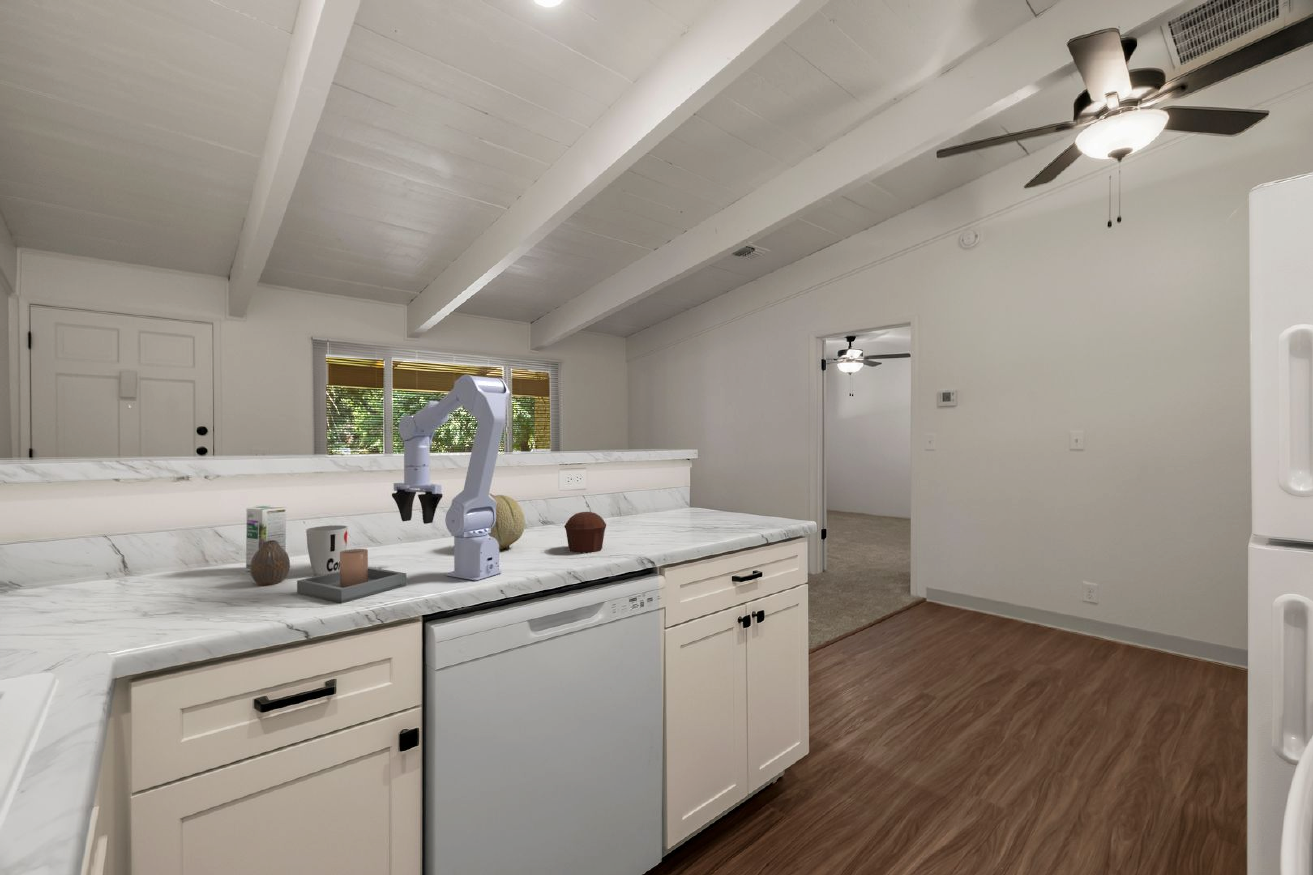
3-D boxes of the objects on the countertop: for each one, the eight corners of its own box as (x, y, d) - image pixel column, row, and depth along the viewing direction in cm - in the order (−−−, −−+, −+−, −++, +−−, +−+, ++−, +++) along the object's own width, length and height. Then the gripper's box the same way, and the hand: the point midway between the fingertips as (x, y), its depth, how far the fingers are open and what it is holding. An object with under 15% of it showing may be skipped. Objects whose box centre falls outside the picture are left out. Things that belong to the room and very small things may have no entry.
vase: (297, 580, 122) (297, 539, 122) (263, 588, 115) (263, 545, 115) (277, 577, 125) (276, 537, 124) (242, 584, 118) (242, 542, 118)
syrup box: (244, 571, 130) (244, 507, 130) (270, 565, 135) (270, 504, 135) (261, 573, 128) (261, 508, 127) (287, 567, 133) (286, 505, 133)
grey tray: (406, 585, 118) (406, 573, 118) (341, 603, 106) (341, 589, 106) (362, 577, 124) (362, 565, 124) (297, 593, 112) (296, 580, 112)
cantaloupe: (517, 554, 148) (517, 496, 148) (461, 554, 148) (461, 496, 148) (530, 543, 163) (530, 490, 162) (479, 543, 163) (479, 490, 163)
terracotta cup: (373, 584, 116) (373, 549, 116) (351, 590, 112) (351, 554, 112) (356, 581, 119) (356, 547, 118) (334, 587, 114) (333, 552, 114)
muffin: (577, 544, 161) (577, 508, 161) (613, 547, 158) (613, 510, 157) (556, 552, 150) (556, 514, 150) (594, 555, 146) (594, 516, 146)
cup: (329, 577, 124) (329, 531, 124) (297, 575, 126) (297, 530, 125) (356, 569, 132) (355, 525, 132) (325, 567, 134) (325, 524, 133)
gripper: (382, 465, 138) (382, 521, 138) (424, 467, 131) (424, 526, 131) (407, 464, 144) (407, 518, 144) (448, 466, 137) (448, 522, 137)
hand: (417, 521), depth 138 cm, fingers open, 7 cm apart
